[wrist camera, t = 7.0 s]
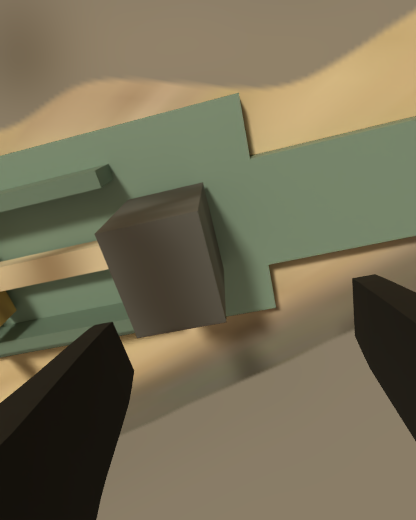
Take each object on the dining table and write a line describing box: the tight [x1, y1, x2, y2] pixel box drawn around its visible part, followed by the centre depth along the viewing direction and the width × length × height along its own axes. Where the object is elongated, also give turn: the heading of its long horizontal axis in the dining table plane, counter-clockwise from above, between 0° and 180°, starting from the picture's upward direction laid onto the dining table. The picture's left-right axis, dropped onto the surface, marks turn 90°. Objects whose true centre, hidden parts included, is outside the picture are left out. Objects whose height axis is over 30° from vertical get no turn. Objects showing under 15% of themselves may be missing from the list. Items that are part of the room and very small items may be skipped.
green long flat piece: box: [0, 93, 416, 357], centre depth 18 cm, size 36×12×3 cm, turn 103°
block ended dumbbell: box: [0, 182, 226, 338], centre depth 16 cm, size 14×5×5 cm, turn 103°
